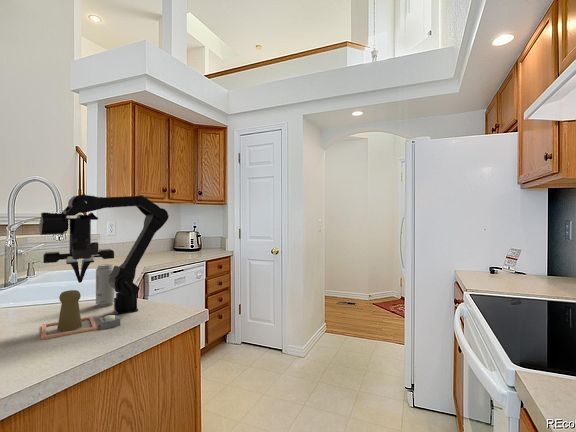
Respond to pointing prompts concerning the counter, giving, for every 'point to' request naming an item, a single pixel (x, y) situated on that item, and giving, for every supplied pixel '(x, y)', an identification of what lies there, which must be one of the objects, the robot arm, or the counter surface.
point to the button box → (109, 322)
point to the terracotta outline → (44, 336)
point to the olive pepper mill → (69, 311)
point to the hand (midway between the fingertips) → (80, 282)
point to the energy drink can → (104, 285)
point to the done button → (109, 317)
